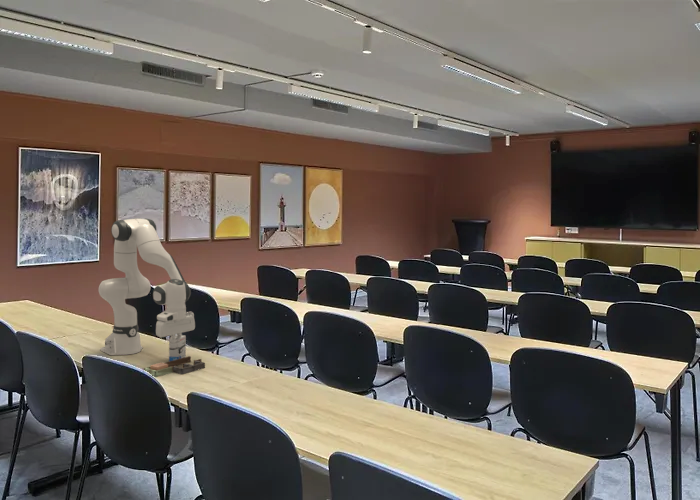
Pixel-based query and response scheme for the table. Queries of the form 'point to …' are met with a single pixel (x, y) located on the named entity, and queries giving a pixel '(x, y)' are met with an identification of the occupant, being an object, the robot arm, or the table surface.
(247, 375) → the table surface
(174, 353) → the ink box
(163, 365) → the block
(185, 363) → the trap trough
